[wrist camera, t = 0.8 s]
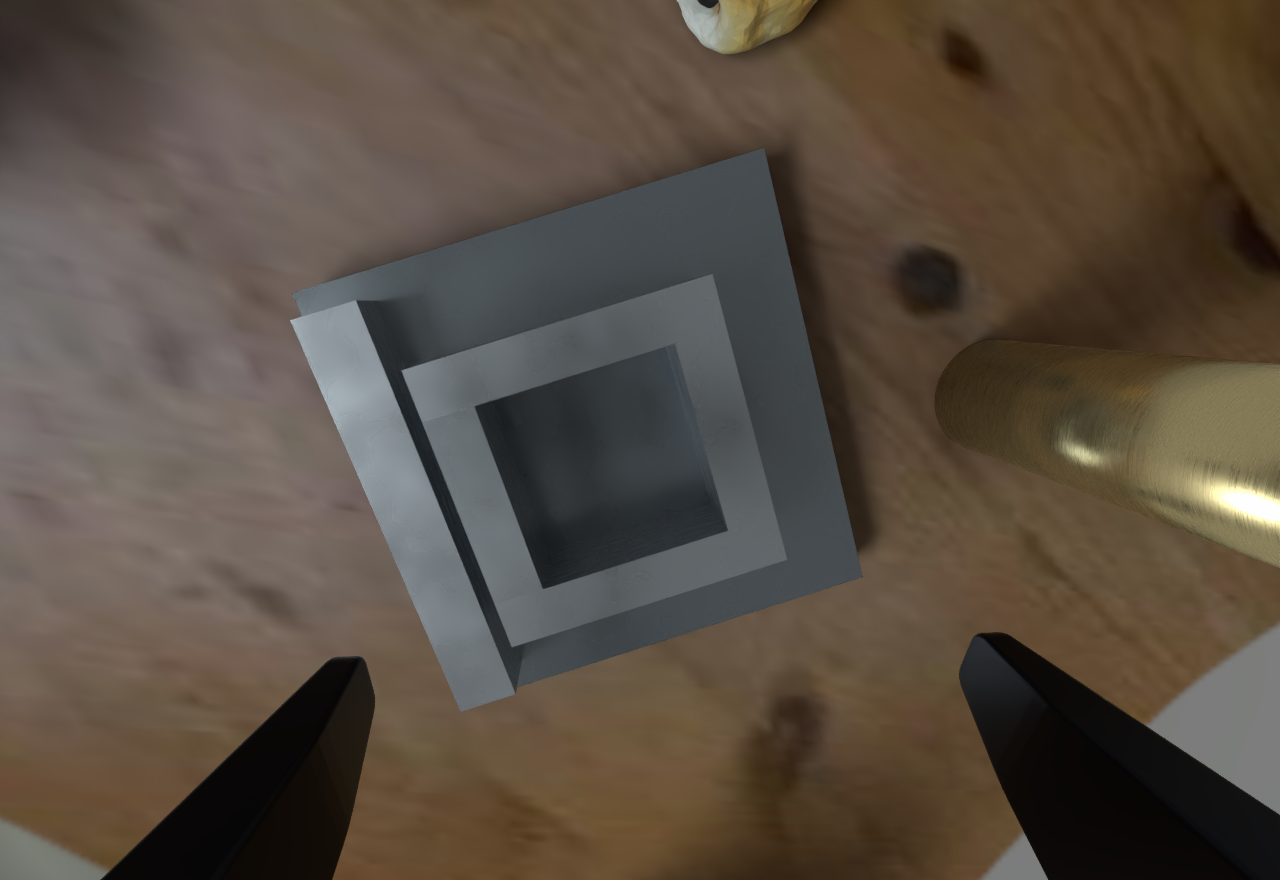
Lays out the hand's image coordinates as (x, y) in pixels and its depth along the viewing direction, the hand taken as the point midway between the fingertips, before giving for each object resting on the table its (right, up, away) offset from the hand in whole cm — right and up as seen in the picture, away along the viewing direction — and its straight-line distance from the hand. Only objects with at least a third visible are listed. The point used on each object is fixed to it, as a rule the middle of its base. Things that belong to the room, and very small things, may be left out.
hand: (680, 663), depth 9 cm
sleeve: (+13, +5, +15) cm, 21 cm away
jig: (-2, +3, +14) cm, 15 cm away
